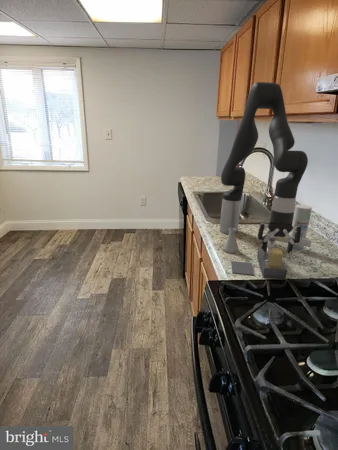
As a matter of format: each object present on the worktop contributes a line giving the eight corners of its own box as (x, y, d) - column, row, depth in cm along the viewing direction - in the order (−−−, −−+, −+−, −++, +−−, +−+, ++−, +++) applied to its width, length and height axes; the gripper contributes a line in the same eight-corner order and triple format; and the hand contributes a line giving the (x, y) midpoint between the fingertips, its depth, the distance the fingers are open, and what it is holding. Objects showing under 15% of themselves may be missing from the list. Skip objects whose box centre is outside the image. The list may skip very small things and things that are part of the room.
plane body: (257, 257, 127) (260, 235, 124) (276, 259, 126) (280, 237, 123) (262, 277, 110) (266, 253, 107) (285, 280, 109) (290, 255, 106)
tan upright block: (267, 260, 115) (269, 247, 113) (278, 261, 114) (280, 248, 112) (269, 266, 110) (271, 253, 108) (280, 267, 109) (283, 254, 108)
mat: (231, 261, 122) (231, 260, 122) (251, 263, 121) (251, 262, 121) (232, 273, 112) (232, 272, 112) (254, 275, 111) (254, 274, 111)
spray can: (301, 246, 140) (309, 205, 134) (305, 252, 134) (313, 209, 127) (286, 245, 141) (294, 204, 134) (289, 250, 135) (297, 207, 128)
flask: (227, 245, 138) (229, 225, 135) (241, 250, 134) (243, 229, 130) (218, 250, 133) (220, 229, 129) (233, 255, 128) (236, 233, 125)
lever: (266, 239, 119) (267, 229, 117) (268, 236, 122) (269, 227, 120) (309, 248, 112) (311, 237, 110) (310, 244, 115) (312, 234, 114)
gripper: (301, 207, 107) (294, 249, 113) (260, 204, 109) (255, 246, 115) (307, 213, 100) (299, 257, 106) (263, 210, 102) (257, 253, 108)
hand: (276, 251), depth 110 cm, fingers open, 8 cm apart
